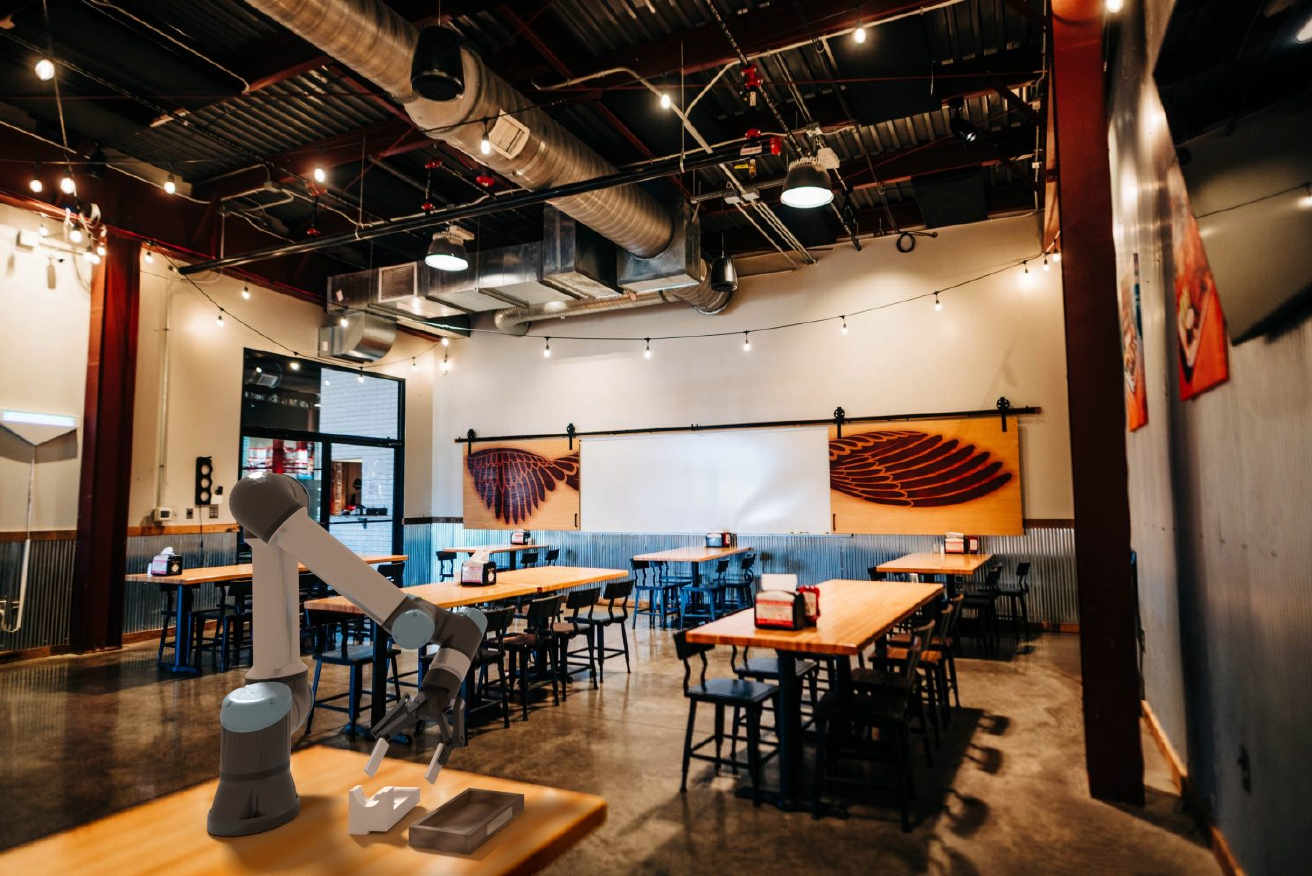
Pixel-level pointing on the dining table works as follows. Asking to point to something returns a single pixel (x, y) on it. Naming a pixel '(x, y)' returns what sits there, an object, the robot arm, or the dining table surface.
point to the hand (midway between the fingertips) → (398, 777)
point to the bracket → (379, 808)
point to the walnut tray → (466, 820)
